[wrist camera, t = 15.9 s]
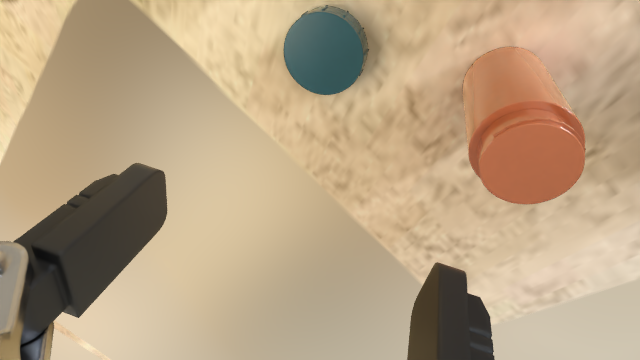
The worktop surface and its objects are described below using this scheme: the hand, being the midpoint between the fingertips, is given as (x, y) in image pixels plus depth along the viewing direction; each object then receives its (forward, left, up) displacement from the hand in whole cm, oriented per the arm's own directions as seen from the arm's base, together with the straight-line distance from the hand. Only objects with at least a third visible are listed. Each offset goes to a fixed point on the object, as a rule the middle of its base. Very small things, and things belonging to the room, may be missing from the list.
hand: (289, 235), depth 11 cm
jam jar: (-8, -4, -20) cm, 22 cm away
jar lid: (+2, +3, -19) cm, 19 cm away
